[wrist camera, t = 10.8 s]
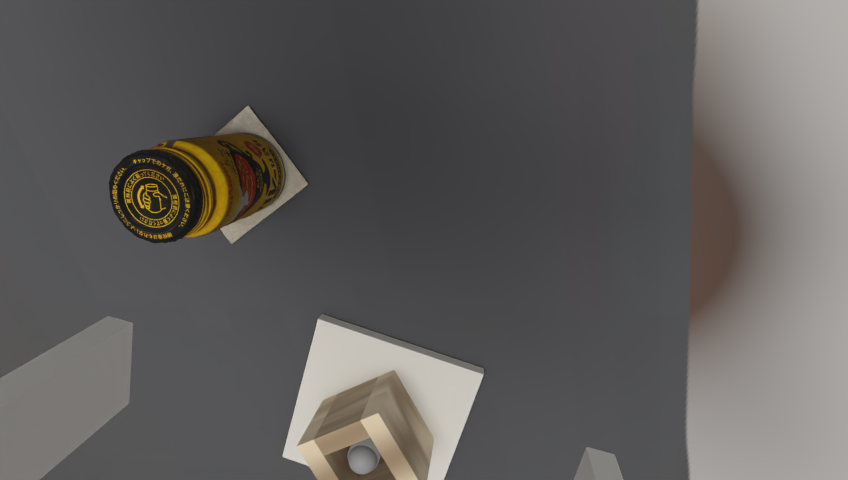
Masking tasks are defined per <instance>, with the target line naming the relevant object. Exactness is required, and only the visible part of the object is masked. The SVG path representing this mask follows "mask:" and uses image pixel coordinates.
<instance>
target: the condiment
mask: <svg viewBox="0 0 848 480" xmlns="http://www.w3.org/2000/svg"><path fill="white" fill-rule="evenodd" d="M307 185H308V183H307V182H306V180H305V179H304V178H303V176H302V175H301V174H300V172H299V171H298V169H297V168H296V167H295V166H294V164H293V163H292V161H291V160H290V159H289V157H288V156H287V155H286V153H285V152H284V151H283V149H282V148H281V147H280V146H279V144H278V143H277V142H276V140H275V139H274V138H273V137H272V135H271V134H270V133H269V131H268V130H267V129H266V128H265V126H264V125H263V124H262V123H261V122H260V120H259V119H258V118H257V116H256V115H255V114H254V112H253V111H252V110H251V109H250V107H249V106H247V107H246V108H245V109H243V110H242V111H241V112H240V113H239V114H238V115H237V116H236V117H234V118H233V119H232V120H231V121H230V122H229V123H227V124H226V125H225V126H224V127H223V128H222V129H221V130H220V131H218V132H217V133H216V134H215V135H214V136H207V137H197V138H188V139H179V140H169V141H165V142H163V143H160V144H159V145H157V146H155V147H153V148H152V149H149V150H141V151H137V152H135V153H132V154H131V155H128V156H126V157H125V158H124V159H122V161H121V162H120V163H119V164H118V165H117V166H116V167H115V168H114V170H113V172H112V174H111V176H110V181H109V190H110V199H111V202H112V206H113V210H114V212H115V214H116V215H117V217H118V218H119V220H120V221H121V222H122V223H123V225H124V226H125V228H127V229H128V230H129V231H130V232H132V233H133V234H134V235H135V236H137V237H138V238H141V239H144V240H147V241H150V242H152V243H161V242H163V243H167V242H172V241H174V242H175V241H177V240H178V239H180V238H181V239H182V238H183V237H199V236H203V235H206V234H209V233H211V232H215V231H217V230H218V229H220V230H221V231H222V232H223V234H224V235H225V236H226V238H227V239H228V240H229V241H230V243H231V244H232V243H234V242H235V241H236V240H237V239H239V238H240V237H241V236H243V235H244V234H245V233H246V232H248V231H249V230H250V229H252V228H253V227H254V226H255V225H257V224H258V223H259V222H261V221H262V220H263V219H264V218H266V217H267V216H268V215H270V214H271V213H272V212H274V211H275V210H276V209H277V208H279V207H280V206H281V205H283V204H284V203H285V202H286V201H288V200H289V199H290V198H292V197H293V196H294V195H295V194H297V193H298V192H299V191H301V190H302V189H303V188H304V187H306V186H307Z"/></svg>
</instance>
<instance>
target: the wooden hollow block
mask: <svg viewBox="0 0 848 480" xmlns="http://www.w3.org/2000/svg"><path fill="white" fill-rule="evenodd" d="M368 438H371V439H372V441H373V442H374V444H375V446H376V447H377V449H378V451H379V452H380V454H381V457H380V460H379V463H378V465H377V467H376V468H375V469H374V470H372V471H371V472H369V473H367V474H357V473H355V472H354V471H353V470H352V469H351V468H350V466H349V463H348V458H347V454H348V451H349V449H350V446H351V445H353V444H355V443H358V442H360V441H363V440H365V439H368ZM433 443H434V437H433V436H432V434H431V432H430V430H429V429H428V427H427V425H426V424H425V422H424V420H423V418H422V417H421V415H420V413H419V411H418V410H417V408H416V406H415V405H414V403H413V401H412V399H411V398H410V396H409V394H408V393H407V391H406V389H405V387H404V386H403V384H402V382H401V381H400V379H399V377H398V375H397V374H396V372H395V370H392V371H390V372H387V373H385V374H383V375H380V376H378V377H376V378H373V379H371V380H369V381H366V382H364V383H362V384H359V385H357V386H355V387H352V388H350V389H348V390H345V391H343V392H341V393H338V394H336V395H334V396H331V397H329V398H327V399H324V400H323V401H322V403H321V404H320V406H319V408H318V410H317V411H316V413H315V415H314V417H313V418H312V420H311V422H310V424H309V425H308V427H307V429H306V431H305V432H304V434H303V436H302V438H301V439H300V441H299V443H298V445H297V446H296V447H297V448H298V450H299V451H300V453H301V455H302V456H303V458H304V459H305V461H306V462H307V464H308V465H309V467H310V469H311V470H312V472H313V473H314V475H315V476H316V478H317V479H318V480H427V479H428V473H429V467H430V461H431V455H432V449H433Z"/></svg>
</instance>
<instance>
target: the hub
mask: <svg viewBox="0 0 848 480" xmlns="http://www.w3.org/2000/svg"><path fill="white" fill-rule="evenodd" d="M392 370H395V372H396V374H397V375H398V377H399V379H400V381H401V382H402V384H403V386H404V387H405V389H406V391H407V393H408V394H409V396H410V398H411V399H412V401H413V403H414V405H415V406H416V408H417V410H418V411H419V413H420V415H421V417H422V418H423V420H424V422H425V424H426V425H427V427H428V429H429V430H430V432H431V434H432V436H433V437H434V443H433V449H432V455H431V461H430V467H429V473H428V479H427V480H444V478H445V475H446V473H447V470H448V467H449V465H450V462H451V460H452V457H453V454H454V452H455V449H456V446H457V444H458V441H459V438H460V436H461V433H462V431H463V428H464V425H465V423H466V420H467V417H468V415H469V412H470V410H471V407H472V404H473V402H474V399H475V396H476V394H477V391H478V388H479V386H480V383H481V381H482V378H483V375H484V368H481V367H478V366H476V365H473V364H470V363H467V362H464V361H461V360H458V359H455V358H452V357H449V356H446V355H443V354H440V353H437V352H434V351H431V350H428V349H425V348H422V347H419V346H416V345H413V344H410V343H407V342H404V341H401V340H398V339H395V338H392V337H389V336H386V335H383V334H380V333H377V332H374V331H371V330H368V329H365V328H362V327H359V326H356V325H353V324H350V323H347V322H344V321H341V320H338V319H336V318H333V317H330V316H327V315H324V314H322V315H321V316H320V317H319V318H318V321H317V325H316V329H315V333H314V337H313V341H312V344H311V348H310V352H309V356H308V360H307V364H306V368H305V371H304V375H303V379H302V383H301V387H300V391H299V395H298V398H297V402H296V406H295V410H294V414H293V418H292V422H291V425H290V429H289V433H288V437H287V441H286V445H285V449H284V452H283V456H282V457H285V458H287V459H290V460H293V461H296V462H299V463H302V464H305V465H307V466H309V465H308V464H307V462H306V461H305V459H304V458H303V456H302V455H301V453H300V451H299V450H298V448H297V447H296V446H297V445H298V443H299V441H300V439H301V438H302V436H303V434H304V432H305V431H306V429H307V427H308V425H309V424H310V422H311V420H312V418H313V417H314V415H315V413H316V411H317V410H318V408H319V406H320V404H321V403H322V401H323V400H324V399H327V398H329V397H331V396H334V395H336V394H338V393H341V392H343V391H345V390H348V389H350V388H352V387H355V386H357V385H359V384H362V383H364V382H366V381H369V380H371V379H373V378H376V377H378V376H380V375H383V374H385V373H387V372H390V371H392ZM380 457H381V454H380V452H379V451H378V449H377V447H376V446H375V444H374V442H373V441H372V439H371V438H368V439H365V440H363V441H360V442H358V443H355V444H353V445H351V446H350V449H349V451H348V454H347V458H348V463H349V466H350V468H351V469H352V470H353V471H354V472H355V473H357V474H367V473H369V472H371V471H372V470H374V469H375V468H376V467H377V465H378V463H379V460H380Z"/></svg>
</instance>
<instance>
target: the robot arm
mask: <svg viewBox="0 0 848 480" xmlns="http://www.w3.org/2000/svg"><path fill="white" fill-rule="evenodd" d="M132 331H133V323H131V322H128V321H124V320H120V319H117V318H113V317H109V316H107V317H105V318H104V319H102V320H100V321H99V322H97V323H95V324H93V325H92V326H90V327H88V328H86V329H85V330H83V331H81V332H80V333H78V334H76V335H74V336H73V337H71V338H69V339H67V340H66V341H64V342H62V343H60V344H59V345H57V346H55V347H54V348H52V349H50V350H48V351H47V352H45V353H43V354H41V355H40V356H38V357H36V358H35V359H33V360H31V361H29V362H28V363H26V364H24V365H22V366H21V367H19V368H17V369H15V370H14V371H12V372H10V373H9V374H7V375H5V376H3V377H2V378H0V480H40V479H41V478H42V477H43V476H44V475H45V474H47V473H48V472H49V471H50V470H51V469H52V468H54V467H55V466H56V465H57V464H58V463H59V462H61V461H62V460H63V459H64V458H65V457H66V456H68V455H69V454H70V453H71V452H72V451H74V450H75V449H76V448H77V447H78V446H79V445H81V444H82V443H83V442H84V441H85V440H86V439H88V438H89V437H90V436H91V435H92V434H93V433H95V432H96V431H97V430H98V429H99V428H100V427H102V426H103V425H104V424H105V423H106V422H108V421H109V420H110V419H111V418H112V417H113V416H115V415H116V414H117V413H118V412H119V411H120V410H122V409H123V408H124V407H125V406H126V405H127V404H129V393H130V373H131V352H132ZM574 480H623V477H622V474H621V472H620V469H619V466H618V463H617V460H616V457H615V455H614V454H611V453H607V452H603V451H600V450H596V449H592V448H589V447H586V450H585V452H584V455H583V457H582V460H581V462H580V465H579V467H578V470H577V472H576V475H575V477H574Z"/></svg>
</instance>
